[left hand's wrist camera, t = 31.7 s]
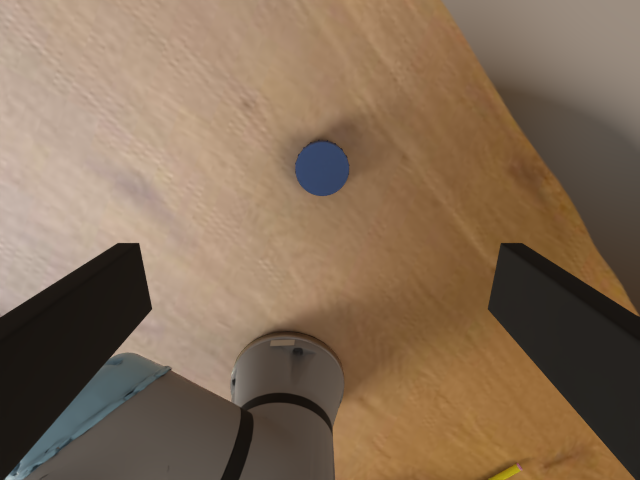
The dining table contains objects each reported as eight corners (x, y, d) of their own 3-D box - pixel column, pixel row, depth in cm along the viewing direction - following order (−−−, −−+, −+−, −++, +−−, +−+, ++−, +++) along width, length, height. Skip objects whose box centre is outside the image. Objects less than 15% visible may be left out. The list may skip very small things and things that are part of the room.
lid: (289, 148, 36) (287, 150, 34) (340, 133, 36) (341, 134, 34) (304, 198, 38) (304, 202, 36) (353, 184, 38) (355, 188, 36)
